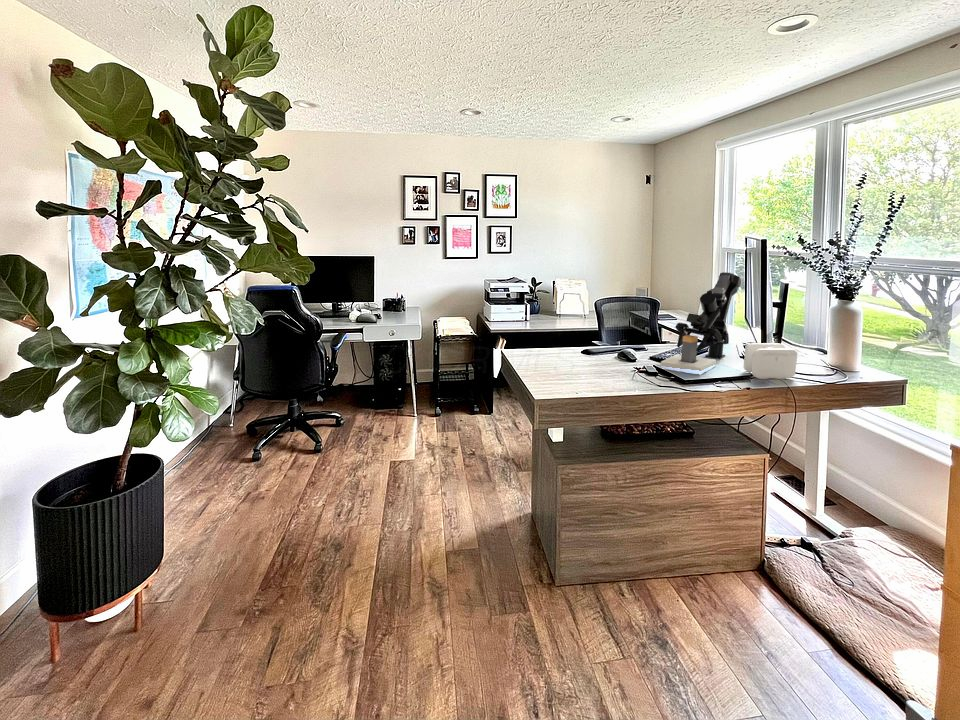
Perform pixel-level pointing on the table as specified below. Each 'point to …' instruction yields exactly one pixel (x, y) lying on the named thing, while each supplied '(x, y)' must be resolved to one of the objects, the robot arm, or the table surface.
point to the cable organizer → (770, 360)
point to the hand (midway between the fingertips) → (687, 348)
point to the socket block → (698, 365)
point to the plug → (689, 349)
